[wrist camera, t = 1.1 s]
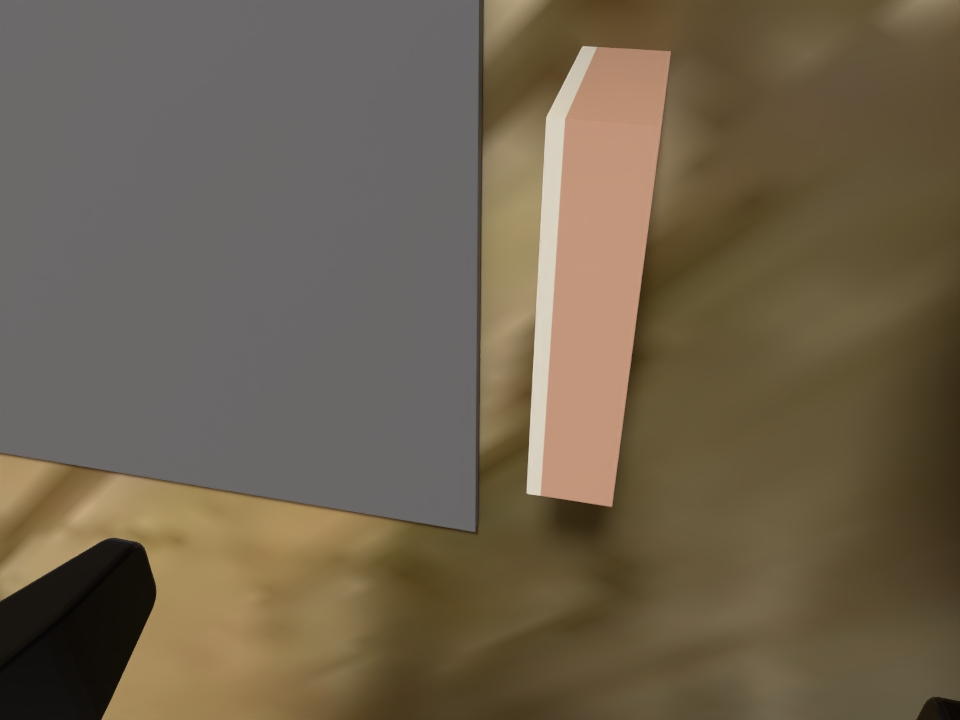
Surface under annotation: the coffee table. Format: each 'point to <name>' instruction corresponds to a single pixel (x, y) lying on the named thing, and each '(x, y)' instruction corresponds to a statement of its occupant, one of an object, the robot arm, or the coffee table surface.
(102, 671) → the robot arm
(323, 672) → the coffee table surface
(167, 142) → the mat
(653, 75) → the tile
